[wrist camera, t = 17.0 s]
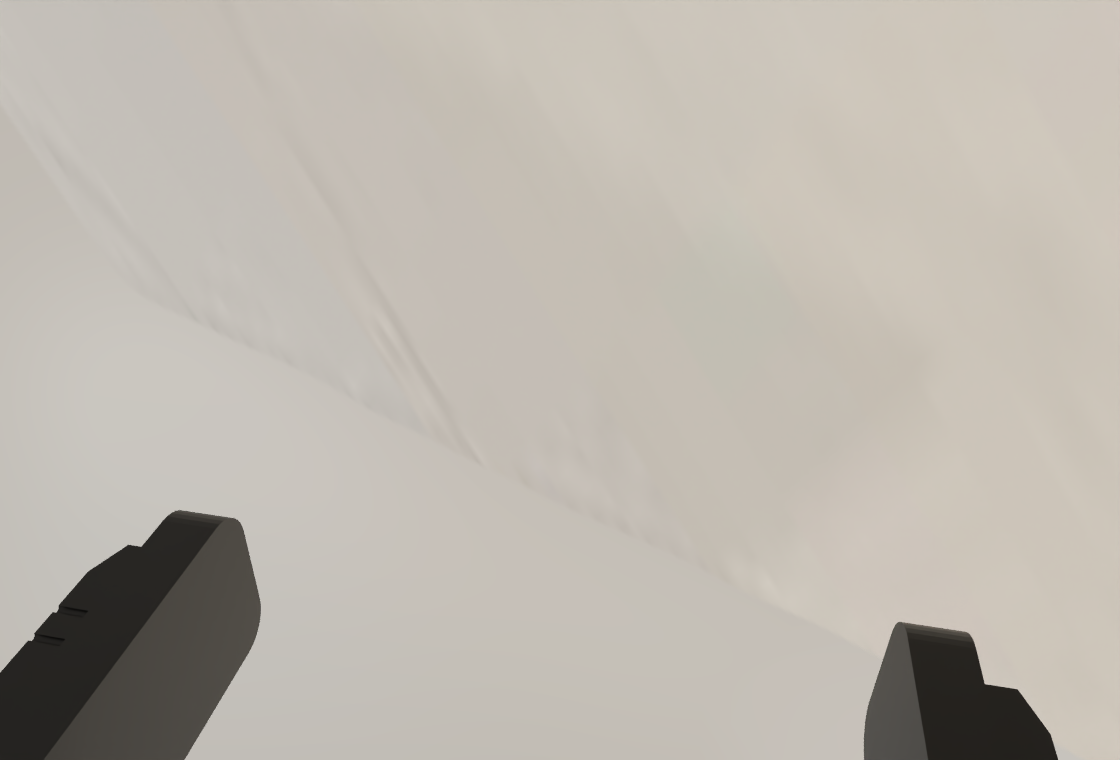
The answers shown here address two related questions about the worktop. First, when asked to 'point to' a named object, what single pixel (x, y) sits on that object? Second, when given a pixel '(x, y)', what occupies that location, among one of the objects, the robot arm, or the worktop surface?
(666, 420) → the worktop surface
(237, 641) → the robot arm
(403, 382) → the worktop surface
